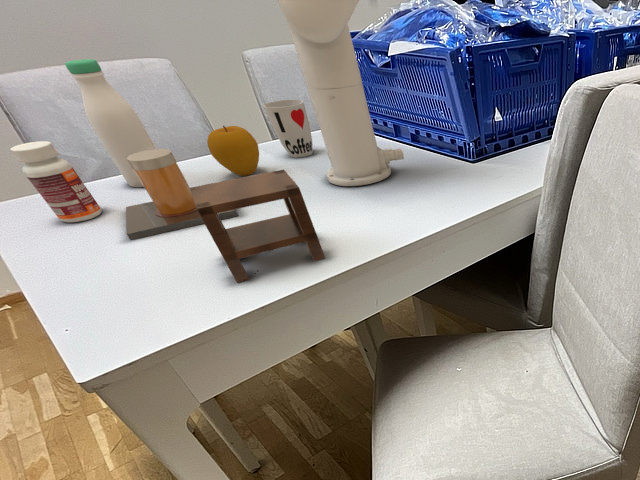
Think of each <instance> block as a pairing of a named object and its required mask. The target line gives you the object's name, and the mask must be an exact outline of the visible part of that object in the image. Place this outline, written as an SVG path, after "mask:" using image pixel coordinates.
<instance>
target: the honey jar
mask: <svg viewBox="0 0 640 480" xmlns="http://www.w3.org/2000/svg"><path fill="white" fill-rule="evenodd" d="M126 159H127V161H128V162H129V164H130V166H131V167H132V169H134V171H135V173H136V174H137V176H138V177H139V179H140V181H141V182H142V184H143V186H144V187H143V188H144V189H145V191H146V193H147V194H148V196H149V198H150V199H151V202H154V204H155V206H156V207H157V209H158V211H159V212H160V213H161V214H166V215H171V214H179V213H184V212H187V211H190V210H192V209H194V208H196V206H195V203H194V200H193V197H192V194H191V190H190V186H189V183H188V182H187V180H186V178H185V176H184V174H183V173H182V171H181V169H180V166H179V165H178V163H177V160H176V158H175V156H174V154H173V152H172V151H171V150H170V149H167V148H156V149H153V150H146V151H141V152H137V153H134V154H131V155H129V156H128V157H127V158H126Z"/></svg>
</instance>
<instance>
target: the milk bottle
mask: <svg viewBox="0 0 640 480" xmlns="http://www.w3.org/2000/svg"><path fill="white" fill-rule="evenodd" d="M64 65H65V67H66V69H67V71H68V72H69V74H70V75H71V76H72V78H73V79H75V81H76V82H77V85H78V87H79V89H80V93H81V97H82V102H83V103H82V104H83V108H84V109H83V110H84V112H85V115H86V118H87V120H88V122H89V124H90V125H91V127H92V128H93V131H94V132H95V134H96V136H97V137H98V139H99V140H100V142H101V143H102V145H103V147H104V149H105V150H106V151H107V153H108V155H109V157H110V158H111V160H112V161H113V163H114V164H115V166H116V168H117V169H118V171H119V172H120V175H122V177H123V178H124V180H125V182H126V184H128V186H130V187H132V188H145V187H144V186H143V184H142V182H141V181H140V179H139V177H138V176H137V174H136V173H135V171H134V169H132V167H131V166H130V164H129V162H128V161H127V159H126V158H127V157H128V156H129V155H131V154H134V153H137V152H141V151H146V150H153V149H157V147H156V145H155V143H154V142H153V140H152V138H151V136H150V134H149V133H148V131H147V129H146V127H145V125H144V124H143V122H142V120H141V118H140V117H139V115H138V113H137V112H136V111H135V110H134V107H132V106H131V104H130V103H129V102H128V101H127V100H125V98H124V97H122V95H120V94H119V93H118V92H117V91H116V90H115V89H114V88H113V87H112V86H111V84H110V83H109V82H108V80H107V79H106V77H105V76H104V75H105V73H104V72H103V70H102V68H101V65H100V64H99V62H98V61H97V60H96V59H93V58H89V59H87V58H86V59H75V60H69V61H65V62H64Z"/></svg>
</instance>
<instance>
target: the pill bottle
mask: <svg viewBox="0 0 640 480" xmlns="http://www.w3.org/2000/svg"><path fill="white" fill-rule="evenodd" d="M10 152H11V153H12V154H13V155H14V157H15V158H16V160H17V161H18V162H19V163H24V165H23V166H22V172H23V174H24V175H25V177H26V178H27V180H28V181H29V182H30V183H31V184H32V186H33V187H34V189H35V190H36V191H37V192H38V194H39V195H40V196H41V197H42V199H43V200H44V202H45V203H46V204H47V205H48V206H49V208H50V209H51V211H52V212H53V214H55V216H56V217H57V218H58V219H59V220H60V221H61V222H64V223H79V222H84V221H89V220H92V219H94V218H96V217H98V216H100V215H101V214H102V211H103V210H102V208H101V206H100V205H99V203H98V201H96V199H95V197H93V195H92V193H91V191H89V189H88V188H87V186H86V184H85V183H84V182H83V181H82V179H81V178H80V176H79V175H78V173H77V171H76V170H75V169H74V167H73V166H72V165H71V164H70V162H69V161H67V160H66V159H64V158H61V157H57V156H59V152H58V151H57V150H56V148H55V147H54V145H53V144H52V143H51V141H47V140H44V141H43V140H42V141H41V140H39V141H31V142H26V143H21V144H17V145H14V146H12V147H11V148H10Z"/></svg>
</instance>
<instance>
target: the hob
mask: <svg viewBox="0 0 640 480" xmlns="http://www.w3.org/2000/svg"><path fill="white" fill-rule="evenodd" d="M218 215H219V217H220V219H221V221H222V220H226V219H231V218H236V217H238V216H239V214H238V211H237V209H234V210H230V211H225V212H221V213H218ZM203 224H204V225H205V223H204V222H203V220H202V218H201V216H200V214H199V212H198V211H197V209H196V208H194V209H192V210H190V211H187V212H184V213H179V214H171V215H166V214H161V213H160V212H159V211H158V209H157V207H156V206H155V204H154V202H153V201H149V202H143V203H138V204H133V205H129V206H125V225H126V226H125V227H126V232H125V233H126V236H127V237H128V238H129V240H130V241H132V240H136V239H141V238H146V237H150V236H155V235H159V234H164V233H168V232H172V231H177V230H181V229H186V228H190V227H194V226H198V225H199V226H200V225H203Z"/></svg>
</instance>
